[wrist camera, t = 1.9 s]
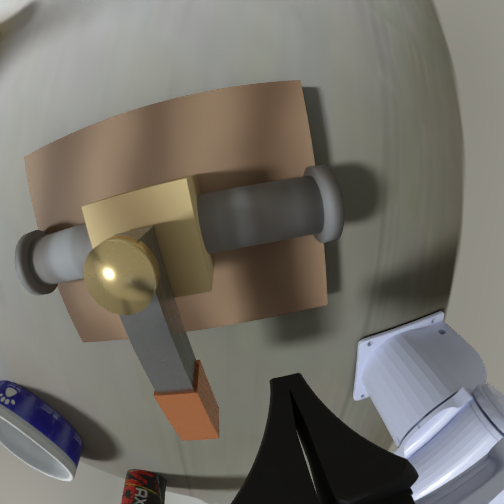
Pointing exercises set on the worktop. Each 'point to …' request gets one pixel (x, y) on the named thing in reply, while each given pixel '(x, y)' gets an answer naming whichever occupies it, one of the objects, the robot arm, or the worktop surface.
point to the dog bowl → (37, 433)
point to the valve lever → (153, 327)
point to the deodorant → (143, 488)
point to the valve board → (223, 164)
